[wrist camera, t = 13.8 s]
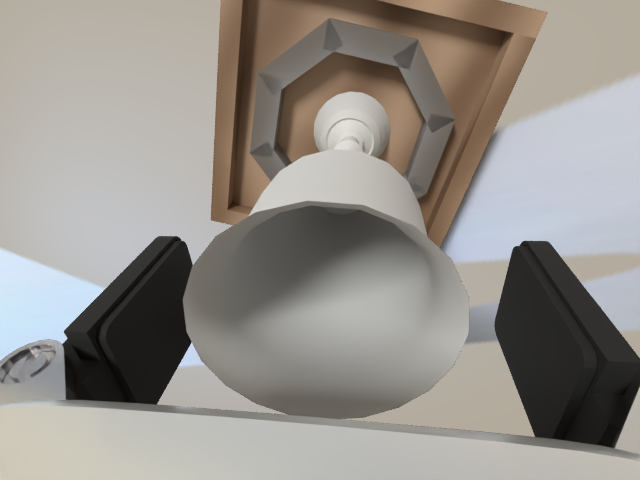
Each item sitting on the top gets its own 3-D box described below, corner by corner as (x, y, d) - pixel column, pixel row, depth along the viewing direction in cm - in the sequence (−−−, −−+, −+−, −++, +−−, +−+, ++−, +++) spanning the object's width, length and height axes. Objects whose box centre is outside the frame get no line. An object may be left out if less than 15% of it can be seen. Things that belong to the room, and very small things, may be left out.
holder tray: (531, 12, 21) (550, 12, 19) (425, 254, 30) (430, 272, 28) (236, -59, 20) (221, -68, 18) (220, 207, 29) (209, 222, 27)
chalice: (362, 200, 27) (351, 447, 11) (281, 150, 25) (147, 353, 10) (429, 112, 23) (543, 305, 8) (337, 49, 22) (261, 130, 6)
